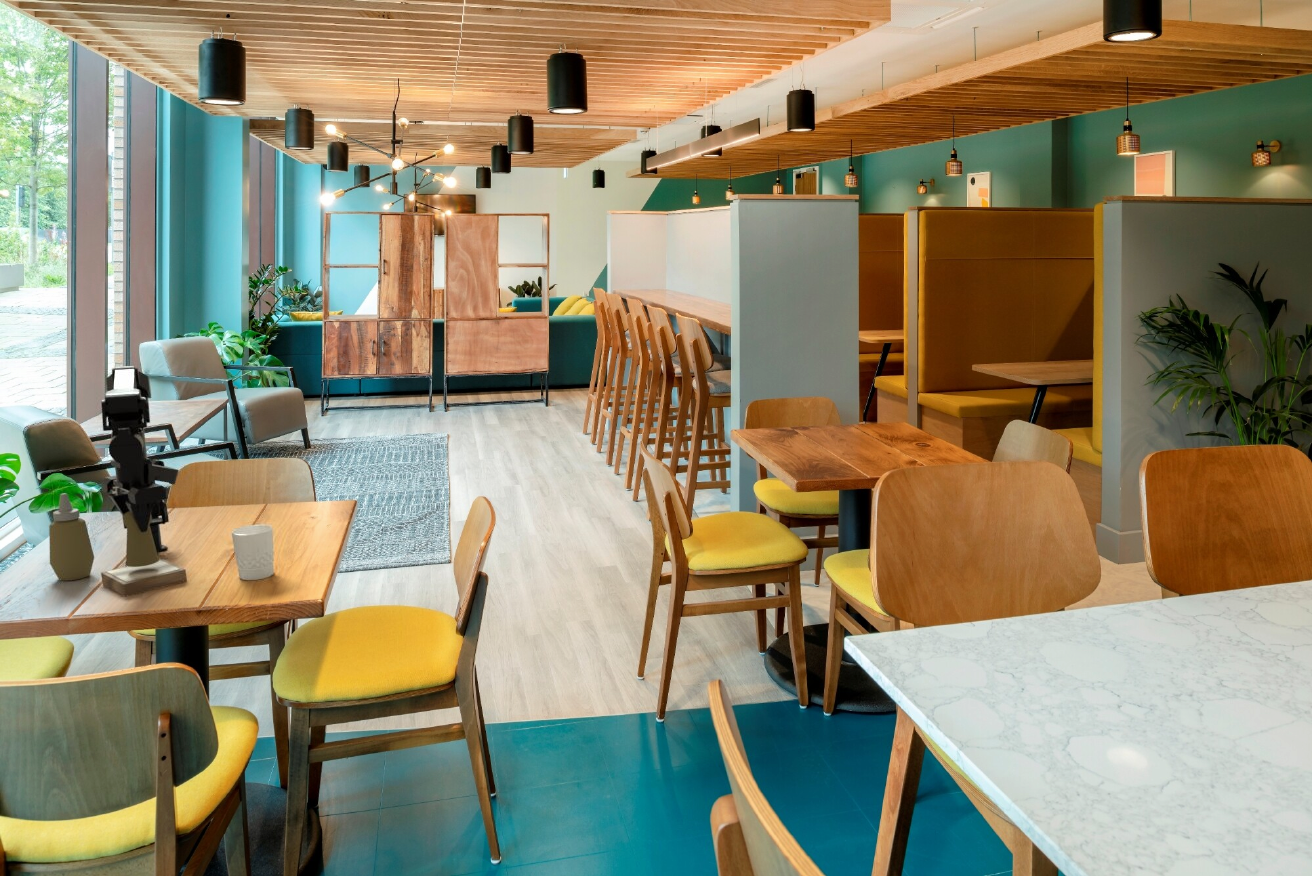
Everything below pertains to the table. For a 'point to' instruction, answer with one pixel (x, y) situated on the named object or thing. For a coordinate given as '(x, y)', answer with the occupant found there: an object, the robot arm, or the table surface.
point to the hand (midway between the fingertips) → (138, 529)
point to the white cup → (254, 551)
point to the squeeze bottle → (69, 543)
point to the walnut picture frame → (143, 577)
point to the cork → (139, 544)
